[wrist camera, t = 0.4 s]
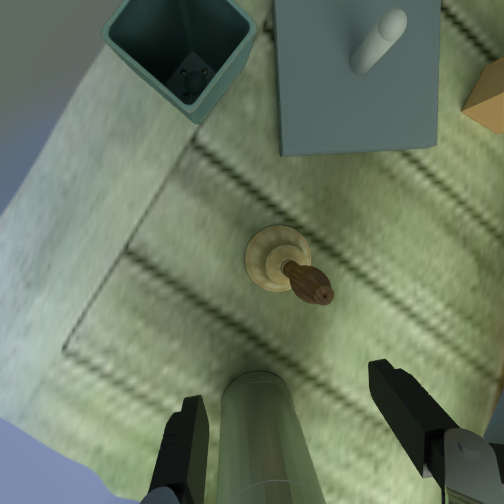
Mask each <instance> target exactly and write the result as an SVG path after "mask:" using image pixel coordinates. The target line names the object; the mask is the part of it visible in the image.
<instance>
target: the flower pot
mask: <svg viewBox="0 0 504 504" xmlns="http://www.w3.org/2000/svg"><path fill="white" fill-rule="evenodd" d="M256 31H257V24H256V22H255V21H254V20H253V18H252V17H251V16H250V15H249V14H248V13H247V12H245V10H243V9H242V7H240V6H239V5H238V4H237V3H236V2H235V1H234V0H123V1H122V2H121V4H120V5H119V7H118V8H117V9H116V11H115V12H114V13H113V15H112V16H111V17H110V18H109V20H108V21H107V22H106V23H105V25H104V27H103V29H102V31H101V37H102V39H103V40H104V41H105V42H106V43H107V44H108V45H109V46H110V47H111V48H112V49H113V51H114V52H115V53H116V54H117V55H118V56H119V57H120V58H121V59H122V60H123V61H124V62H125V63H126V64H127V65H128V66H129V67H130V68H131V69H132V70H133V71H134V72H135V73H136V74H137V75H139V76H140V77H141V78H142V79H143V80H144V81H146V82H147V83H148V84H149V85H150V86H152V87H153V88H154V89H155V90H156V91H157V92H159V93H160V94H161V95H162V96H163V97H164V98H165V99H167V100H168V101H169V102H170V103H171V104H172V105H174V106H175V107H176V108H177V109H178V110H179V111H181V112H182V113H183V114H184V115H185V116H186V117H187V118H188V119H190V120H191V121H192V122H193V123H195V124H200V123H202V121H203V120H204V119H205V118H206V116H207V115H208V114H209V112H210V111H211V110H212V108H213V107H214V106H215V105H216V103H217V102H218V101H219V99H220V98H221V97H222V96H223V94H224V93H225V92H226V90H227V89H228V88H229V86H230V85H231V84H232V83H233V81H234V80H235V79H236V78H237V76H238V75H239V74H240V73H241V71H242V70H243V68H244V66H245V64H246V62H247V59H248V56H249V53H250V50H251V47H252V44H253V40H254V37H255V34H256ZM203 70H207V74H206V75H204V74H203V73H202V71H203ZM183 71H185V72H186V76H182V74H181V73H182V72H183ZM185 94H188V95H189V98H185V97H184V95H185Z"/></svg>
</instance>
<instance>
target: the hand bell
mask: <svg viewBox="0 0 504 504" xmlns="http://www.w3.org/2000/svg"><path fill="white" fill-rule="evenodd" d="M311 260H312V255H311V249H310V246H309V244H308V242H307V240H306V239H305V237H304V236H303V235H302V234H301V233H300V232H299V231H297V230H295V229H294V228H291V227H289V226H284V225H273V226H269V227H266V228H264V229H262V230H260V231H259V232H258V233H256V234H255V235H254V236H253V237H252V239H251V240H250V242H249V243H248V246H247V248H246V251H245V267H246V271H247V273H248V275H249V277H250V278H251V280H252V281H253V282H254V283H255V284H257V285H258V286H259V287H261V288H263V289H265V290H268V291H272V292H282V291H287V290H290V289H292V290H293V291H294V293H295V294H296V295H297V296H298V297H299V298H300V299H301V300H303V301H305V302H307V303H311V304H320V305H328V304H330V303H331V302H332V301H333V299H334V291H333V290H332V288H331V284H330V281H329V279H328V278H327V276H326V275H325V274H324V273H323V272H322V271H320V270H319V269H317V268H315V267H313V266H311Z"/></svg>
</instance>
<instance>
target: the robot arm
mask: <svg viewBox="0 0 504 504" xmlns="http://www.w3.org/2000/svg"><path fill="white" fill-rule="evenodd" d="M368 372H369V389H370V393H371V396H372V399H373V401H374V402H375V404H376V406H377V407H378V409H379V410H380V412H381V413H382V415H383V417H384V418H385V420H386V421H387V423H388V424H389V426H390V428H391V429H392V431H393V432H394V434H395V435H396V437H397V439H398V440H399V442H400V443H401V445H402V447H403V448H404V450H405V451H406V453H407V454H408V456H409V458H410V459H411V461H412V462H413V464H414V465H415V467H416V469H417V470H418V472H419V473H420V475H421V476H422V478H428V477H434V479H435V480H436V482H437V483H438V485H439V486H440V488H441V504H504V445H502V444H494V443H488V442H487V441H486V440H484V439H483V438H482V437H480V436H479V435H477V434H476V433H474V432H472V431H469V430H466V429H462V428H460V427H459V426H458V425H457V424H456V423H455V422H454V421H453V420H452V418H451V417H450V416H449V415H448V414H447V413H446V412H445V411H444V410H443V409H442V408H441V406H440V405H439V404H438V403H437V402H436V401H435V400H434V399H433V398H432V397H431V395H429V394H428V392H427V391H426V390H425V389H424V388H423V387H422V386H421V384H420V383H419V382H418V381H417V380H416V379H415V378H414V377H413V376H412V375H411V374H409V373H407V372H406V371H404V370H403V369H401V368H399V369H394V367H393V366H392V365H391V364H390V363H389V362H388V361H387V360H386V359H381V360H375V361H370V362H369V363H368ZM208 443H209V422H208V417H207V414H206V410H205V406H204V403H203V399H202V396H201V395H196V396H191V397H186V398H184V400H183V405H182V409H181V412H175V413H173V414H172V416H171V417H170V419H169V421H168V422H167V424H166V427H165V431H164V434H163V439H162V442H161V446H160V450H159V453H158V457H157V461H156V465H155V469H154V472H153V476H152V480H151V484H150V488H149V491H148V493H147V495H146V496H145V497H144V498H143V500H142V501H141V502H140V504H203V502H204V490H205V479H206V467H207V455H208ZM216 504H326V502H325V499H324V496H323V493H322V490H321V486H320V483H319V480H318V477H317V474H316V471H315V468H314V465H313V462H312V459H311V456H310V453H309V450H308V447H307V444H306V441H305V438H304V435H303V431H302V428H301V425H300V422H299V419H298V416H297V413H296V410H295V407H294V404H293V401H292V398H291V395H290V392H289V389H288V387H287V386H286V384H285V383H284V382H283V381H282V380H281V379H280V378H278V377H277V376H276V375H273V374H271V373H268V372H263V371H254V372H249V373H246V374H243V375H241V376H239V377H238V378H236V379H235V380H233V381H232V382H231V383H230V385H229V386H228V387H227V389H226V390H225V392H224V395H223V398H222V405H221V423H220V439H219V457H218V475H217V493H216Z"/></svg>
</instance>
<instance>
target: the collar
mask: <svg viewBox="0 0 504 504" xmlns="http://www.w3.org/2000/svg"><path fill="white" fill-rule="evenodd" d="M461 112H462V113H464V114H465V115H467V116H469V117H470V118H472V119H473V120H475V121H477V122H478V123H480V124H481V125H483V126H485V127H486V128H488V129H490V130H491V131H493V132H494V133H496V134H500V133H503V132H504V56H503V57H501V58H500V59H498V60H496V61H495V62H493V63H491V64H490V65H488V66H486V67H485V68H484V70H483V72H482V74H481V76H480V78H479V79H478V81H477V83H476V85H475V87H474V89H473V91H472V92H471V94H470V96H469V98H468V100H467V102H466V104H465V105H464V107H463V109H462V111H461Z"/></svg>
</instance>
